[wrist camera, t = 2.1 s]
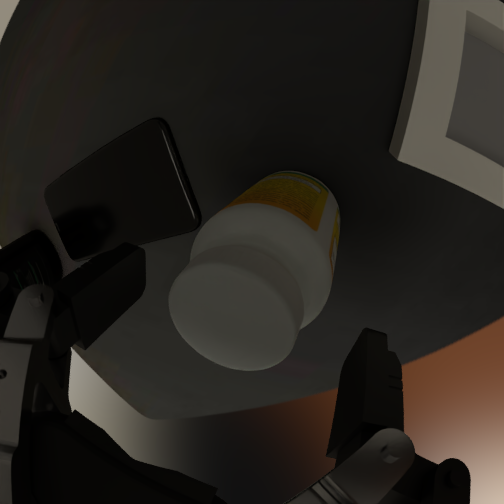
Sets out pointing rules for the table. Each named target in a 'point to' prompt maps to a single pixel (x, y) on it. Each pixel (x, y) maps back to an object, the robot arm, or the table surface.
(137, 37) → the table surface
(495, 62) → the socket plate
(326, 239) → the supplement bottle
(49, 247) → the supplement bottle
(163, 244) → the table surface
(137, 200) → the smartphone
